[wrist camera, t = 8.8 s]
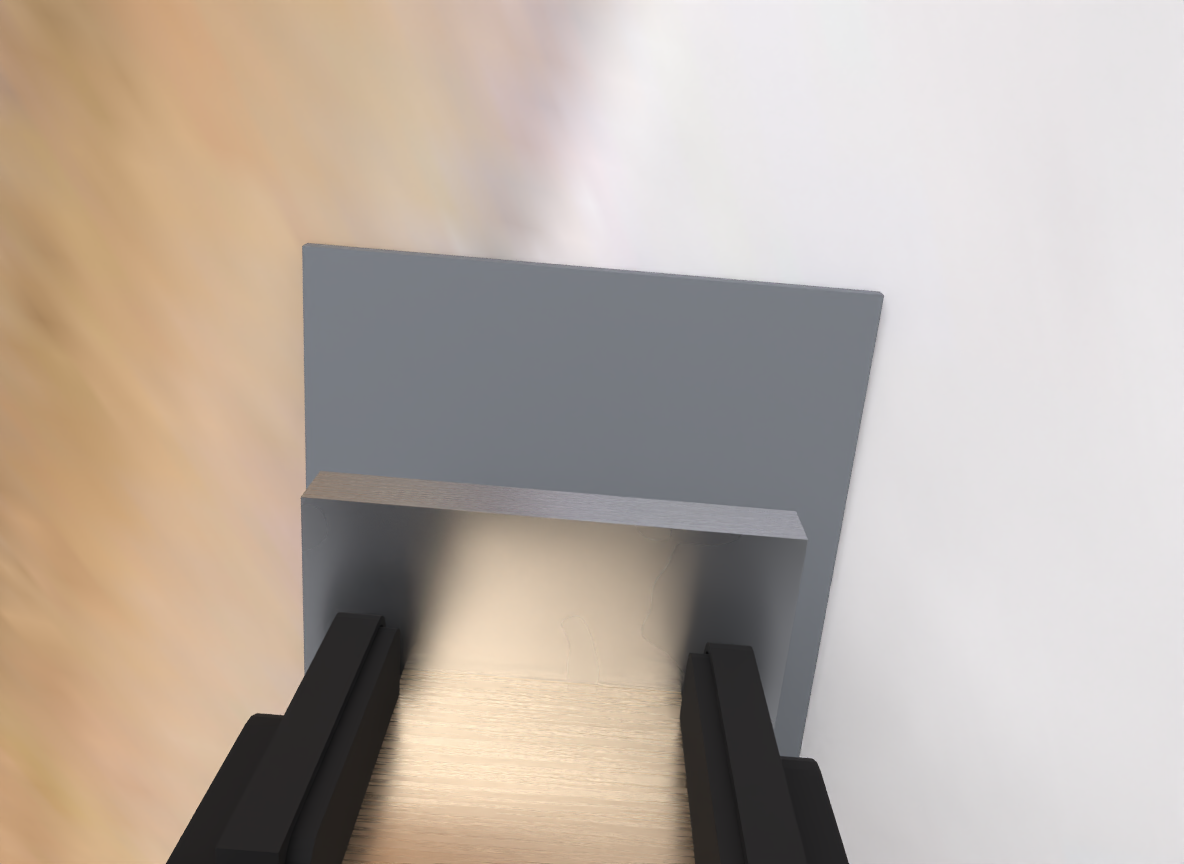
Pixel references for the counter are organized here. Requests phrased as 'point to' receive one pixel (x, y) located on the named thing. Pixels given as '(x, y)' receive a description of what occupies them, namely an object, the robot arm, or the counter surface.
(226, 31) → the counter surface
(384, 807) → the trowel
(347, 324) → the mat
